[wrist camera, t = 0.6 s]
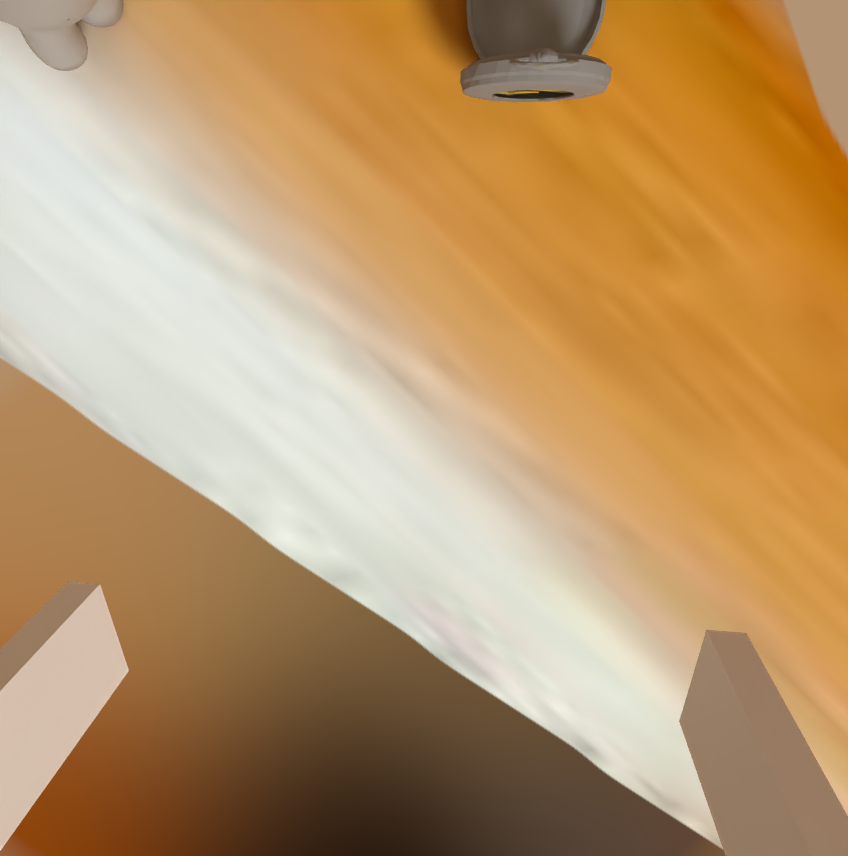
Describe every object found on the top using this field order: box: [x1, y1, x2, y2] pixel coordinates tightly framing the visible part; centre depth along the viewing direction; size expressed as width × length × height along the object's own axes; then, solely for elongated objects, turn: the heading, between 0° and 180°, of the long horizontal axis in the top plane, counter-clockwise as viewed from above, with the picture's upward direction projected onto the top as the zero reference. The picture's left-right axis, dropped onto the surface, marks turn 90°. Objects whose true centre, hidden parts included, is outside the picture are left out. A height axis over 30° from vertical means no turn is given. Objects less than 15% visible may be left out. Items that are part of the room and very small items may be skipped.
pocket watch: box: [460, 0, 612, 102], centre depth 23 cm, size 8×8×10 cm
